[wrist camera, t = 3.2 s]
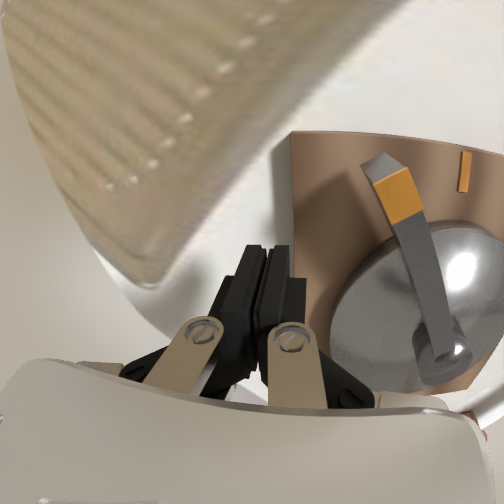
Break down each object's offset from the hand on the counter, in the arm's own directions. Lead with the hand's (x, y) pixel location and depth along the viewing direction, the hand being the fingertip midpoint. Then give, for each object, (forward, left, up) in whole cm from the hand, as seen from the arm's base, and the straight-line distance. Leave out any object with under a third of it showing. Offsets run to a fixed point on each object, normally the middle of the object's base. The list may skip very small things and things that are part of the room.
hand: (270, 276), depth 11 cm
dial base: (-12, +9, -10) cm, 18 cm away
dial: (-11, +7, -8) cm, 15 cm away
